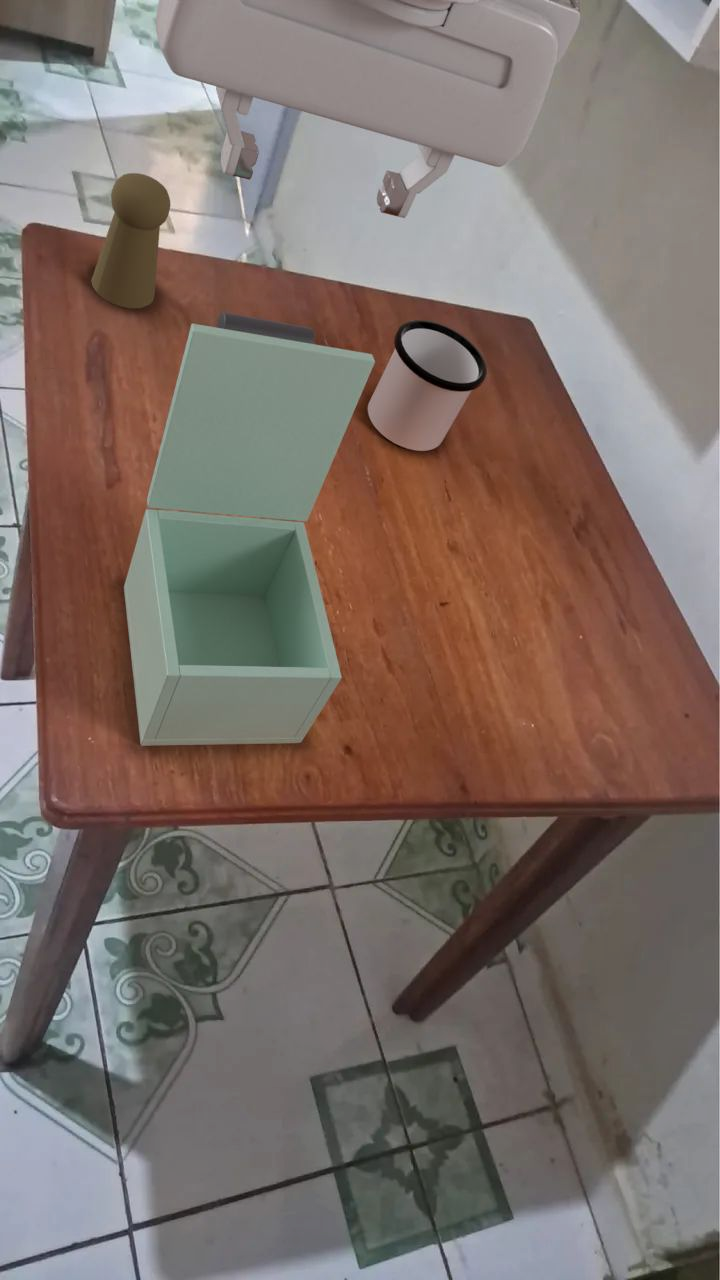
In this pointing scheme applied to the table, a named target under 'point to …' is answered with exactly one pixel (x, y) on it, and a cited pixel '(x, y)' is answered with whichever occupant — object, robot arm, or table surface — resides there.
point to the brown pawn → (132, 242)
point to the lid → (255, 419)
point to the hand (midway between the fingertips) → (315, 191)
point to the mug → (425, 384)
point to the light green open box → (226, 631)
